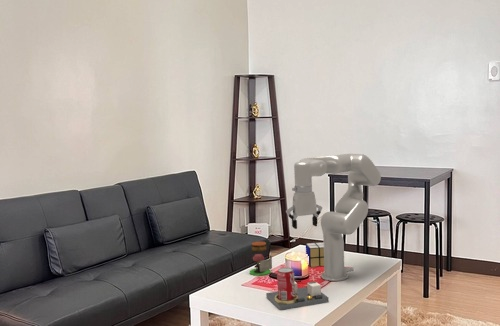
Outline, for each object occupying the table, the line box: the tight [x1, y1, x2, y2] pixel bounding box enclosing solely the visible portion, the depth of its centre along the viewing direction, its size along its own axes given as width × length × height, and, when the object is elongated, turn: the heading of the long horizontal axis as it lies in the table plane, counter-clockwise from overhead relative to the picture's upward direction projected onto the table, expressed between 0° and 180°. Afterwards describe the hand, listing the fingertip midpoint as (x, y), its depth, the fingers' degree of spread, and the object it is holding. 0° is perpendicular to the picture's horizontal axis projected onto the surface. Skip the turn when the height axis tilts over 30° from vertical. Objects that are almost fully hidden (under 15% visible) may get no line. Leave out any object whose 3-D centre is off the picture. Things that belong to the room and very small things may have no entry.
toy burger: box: [249, 241, 273, 277], centre depth 272 cm, size 12×13×15 cm
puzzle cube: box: [305, 241, 324, 268], centre depth 284 cm, size 10×10×10 cm
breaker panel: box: [265, 286, 330, 311], centre depth 234 cm, size 22×16×3 cm
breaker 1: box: [294, 280, 298, 293], centre depth 237 cm, size 4×5×5 cm
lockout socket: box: [275, 294, 298, 304], centre depth 229 cm, size 10×10×1 cm
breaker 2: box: [306, 281, 322, 296], centre depth 234 cm, size 4×5×5 cm
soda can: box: [276, 267, 296, 301], centre depth 228 cm, size 7×7×13 cm
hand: (304, 227), depth 245 cm, fingers open, 9 cm apart
